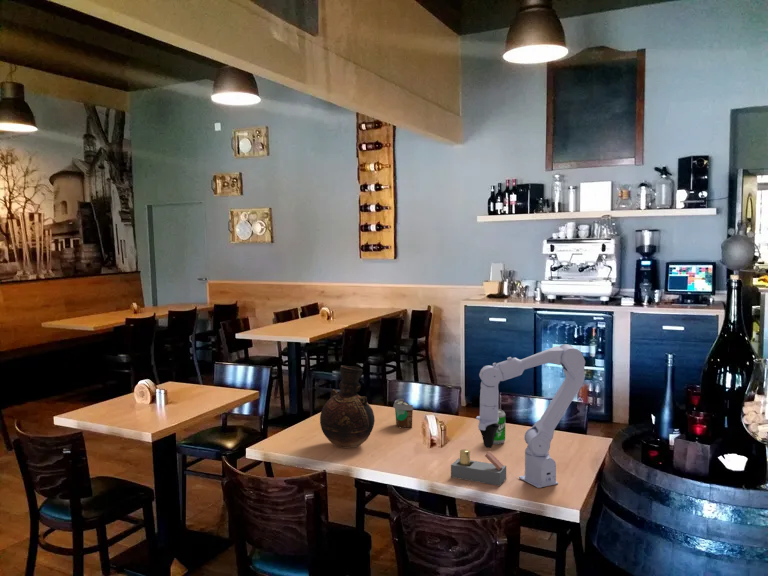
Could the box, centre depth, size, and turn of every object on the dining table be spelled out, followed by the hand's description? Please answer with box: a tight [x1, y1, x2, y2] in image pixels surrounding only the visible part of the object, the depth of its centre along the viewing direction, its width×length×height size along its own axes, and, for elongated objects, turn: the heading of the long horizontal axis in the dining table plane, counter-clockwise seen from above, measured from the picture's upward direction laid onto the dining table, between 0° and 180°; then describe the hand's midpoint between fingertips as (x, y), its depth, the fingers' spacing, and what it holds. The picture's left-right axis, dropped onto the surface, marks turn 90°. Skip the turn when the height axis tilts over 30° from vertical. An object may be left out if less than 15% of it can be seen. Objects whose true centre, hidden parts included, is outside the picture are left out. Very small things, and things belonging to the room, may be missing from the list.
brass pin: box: [459, 448, 471, 467], centre depth 193 cm, size 3×3×8 cm
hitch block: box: [450, 457, 507, 487], centre depth 191 cm, size 16×7×4 cm, turn 63°
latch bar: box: [484, 451, 504, 470], centre depth 189 cm, size 6×3×1 cm
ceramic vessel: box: [319, 365, 376, 449], centre depth 224 cm, size 21×18×30 cm
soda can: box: [493, 408, 506, 445], centre depth 228 cm, size 8×8×12 cm
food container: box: [392, 398, 414, 429], centre depth 250 cm, size 12×6×10 cm, turn 17°
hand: (488, 447), depth 189 cm, fingers closed
